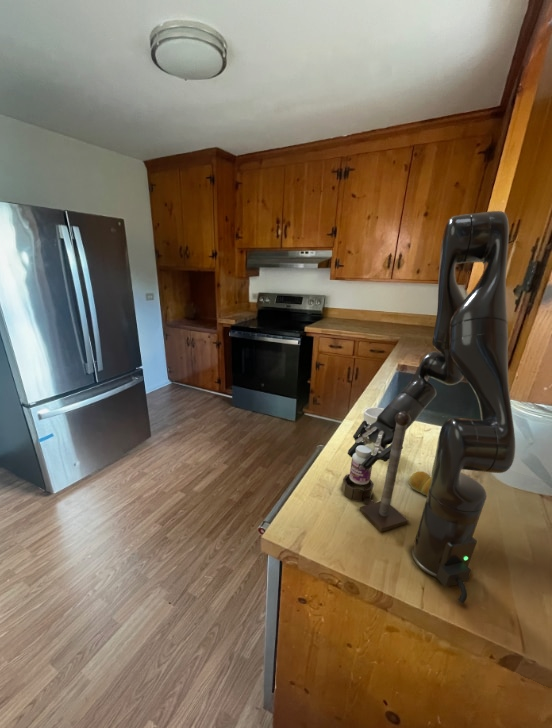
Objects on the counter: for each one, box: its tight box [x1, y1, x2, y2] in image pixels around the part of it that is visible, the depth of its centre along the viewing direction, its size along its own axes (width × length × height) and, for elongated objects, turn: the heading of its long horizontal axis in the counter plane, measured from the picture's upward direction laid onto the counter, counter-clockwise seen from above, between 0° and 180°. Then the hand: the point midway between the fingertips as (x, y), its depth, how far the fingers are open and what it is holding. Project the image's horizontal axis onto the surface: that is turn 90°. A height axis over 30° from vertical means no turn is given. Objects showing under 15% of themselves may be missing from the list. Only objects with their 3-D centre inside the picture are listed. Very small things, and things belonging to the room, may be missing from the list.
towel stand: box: [341, 412, 411, 533], centre depth 82 cm, size 18×8×29 cm, turn 21°
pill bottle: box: [349, 445, 373, 485], centre depth 88 cm, size 5×5×10 cm
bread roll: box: [407, 471, 431, 497], centre depth 93 cm, size 8×9×4 cm
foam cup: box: [362, 406, 385, 452], centre depth 113 cm, size 10×9×13 cm
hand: (356, 461), depth 87 cm, fingers closed on pill bottle, 5 cm apart
